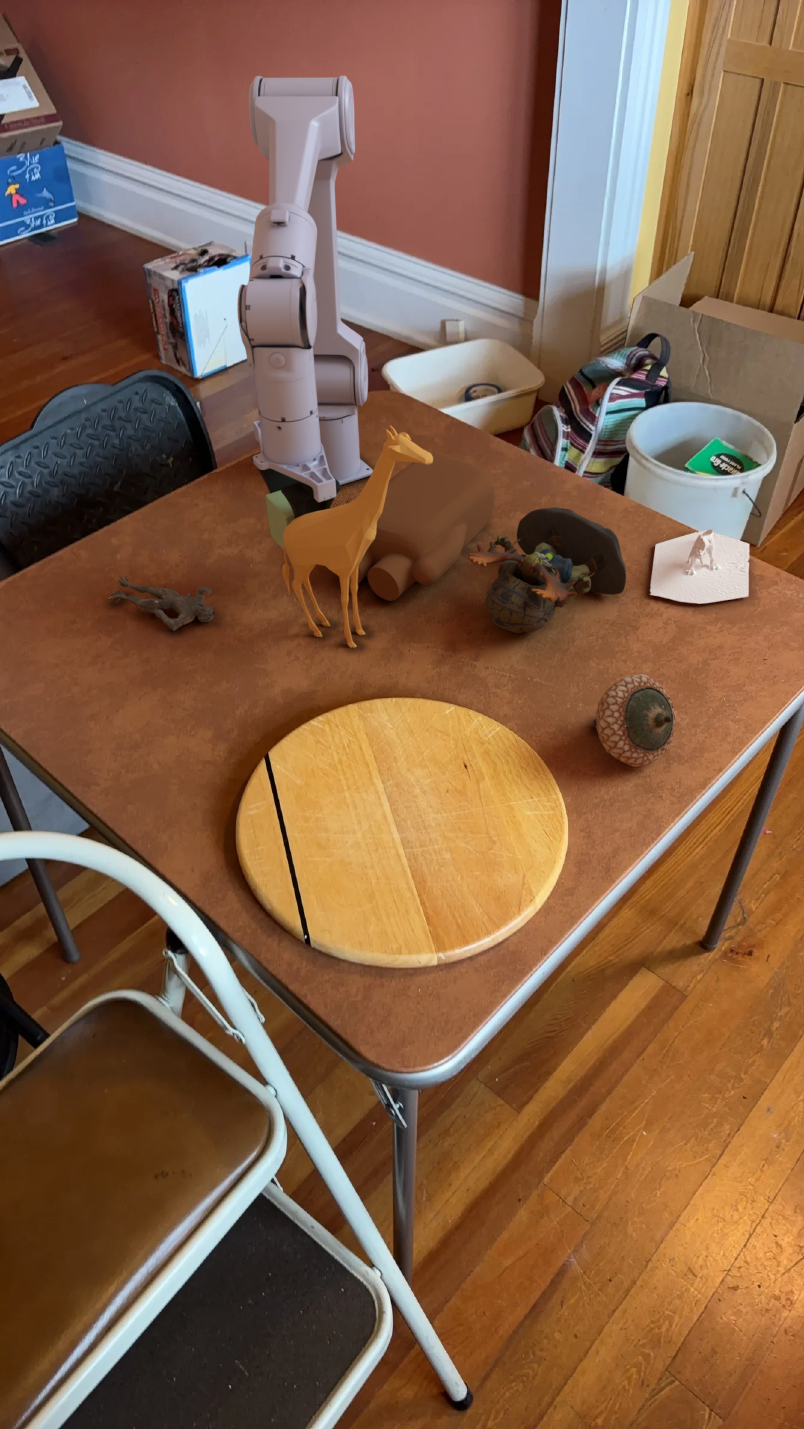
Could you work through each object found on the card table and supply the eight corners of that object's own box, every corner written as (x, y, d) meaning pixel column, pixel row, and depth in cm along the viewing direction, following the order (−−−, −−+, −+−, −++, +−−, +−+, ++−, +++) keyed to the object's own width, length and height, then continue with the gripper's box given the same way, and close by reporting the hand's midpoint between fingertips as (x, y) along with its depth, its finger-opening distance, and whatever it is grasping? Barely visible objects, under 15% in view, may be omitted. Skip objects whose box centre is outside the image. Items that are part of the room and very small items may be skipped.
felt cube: (270, 535, 106) (264, 494, 102) (311, 521, 108) (307, 481, 104) (290, 558, 103) (285, 517, 99) (333, 543, 104) (330, 503, 101)
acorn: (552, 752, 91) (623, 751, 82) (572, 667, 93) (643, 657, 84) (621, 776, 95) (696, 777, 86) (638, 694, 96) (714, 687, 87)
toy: (420, 623, 107) (517, 528, 117) (418, 566, 101) (519, 472, 112) (315, 576, 113) (416, 491, 124) (307, 521, 107) (413, 436, 118)
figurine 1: (123, 558, 108) (216, 575, 104) (139, 580, 111) (229, 597, 107) (96, 602, 106) (190, 622, 101) (113, 624, 109) (204, 643, 105)
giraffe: (439, 645, 102) (441, 423, 85) (423, 672, 100) (422, 447, 82) (298, 609, 107) (273, 391, 90) (278, 633, 104) (249, 413, 87)
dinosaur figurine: (673, 542, 119) (678, 491, 116) (775, 562, 113) (784, 509, 110) (622, 593, 109) (626, 538, 106) (731, 617, 103) (740, 560, 100)
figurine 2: (652, 534, 105) (568, 593, 92) (626, 610, 110) (544, 674, 98) (541, 485, 110) (448, 533, 98) (522, 559, 116) (433, 613, 104)
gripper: (219, 388, 98) (237, 507, 107) (283, 451, 89) (297, 575, 98) (283, 371, 100) (296, 488, 110) (352, 430, 91) (359, 553, 101)
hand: (300, 528), depth 104 cm, fingers closed on felt cube, 5 cm apart
